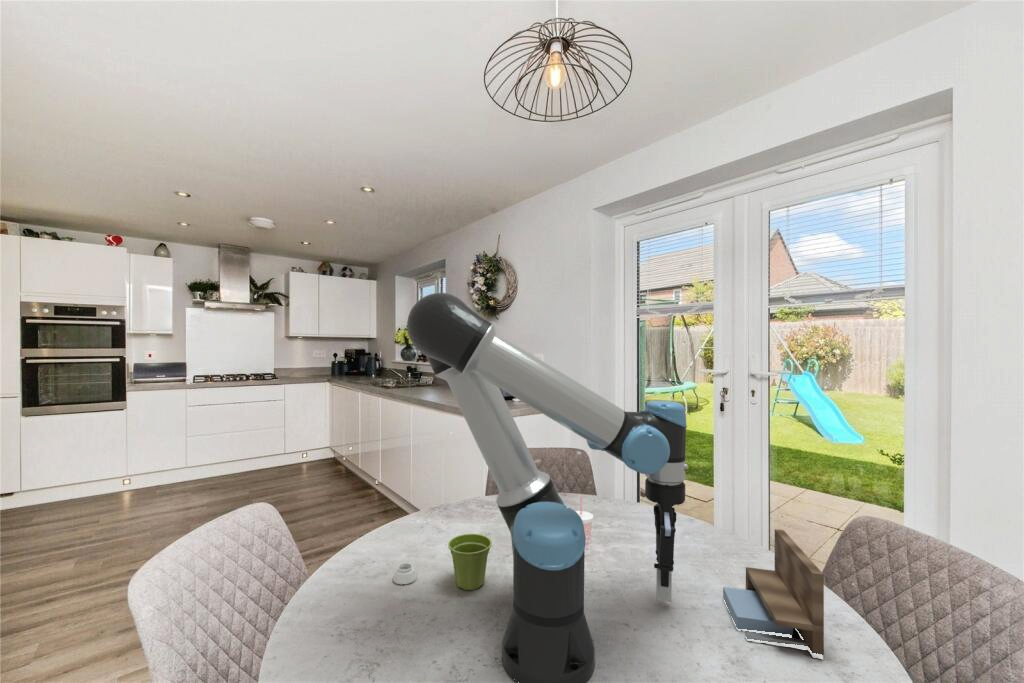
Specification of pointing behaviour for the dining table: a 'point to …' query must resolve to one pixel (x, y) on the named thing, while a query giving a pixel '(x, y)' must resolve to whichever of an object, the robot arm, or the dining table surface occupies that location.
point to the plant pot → (469, 559)
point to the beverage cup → (586, 526)
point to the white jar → (405, 574)
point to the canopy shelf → (791, 594)
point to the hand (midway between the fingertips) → (663, 599)
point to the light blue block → (750, 611)
